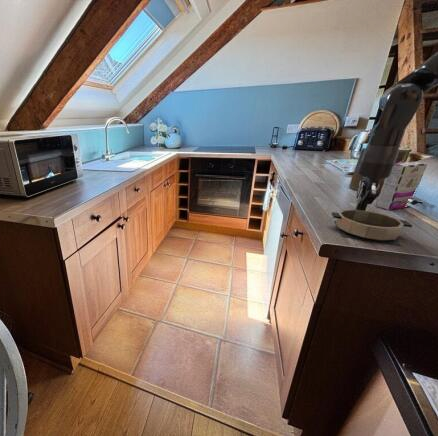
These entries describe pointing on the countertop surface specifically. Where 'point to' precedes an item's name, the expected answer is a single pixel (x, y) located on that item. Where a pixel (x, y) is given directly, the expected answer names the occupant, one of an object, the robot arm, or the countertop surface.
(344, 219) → the pan
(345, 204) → the countertop surface
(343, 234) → the mat
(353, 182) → the wooden container
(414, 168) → the candy bar box
